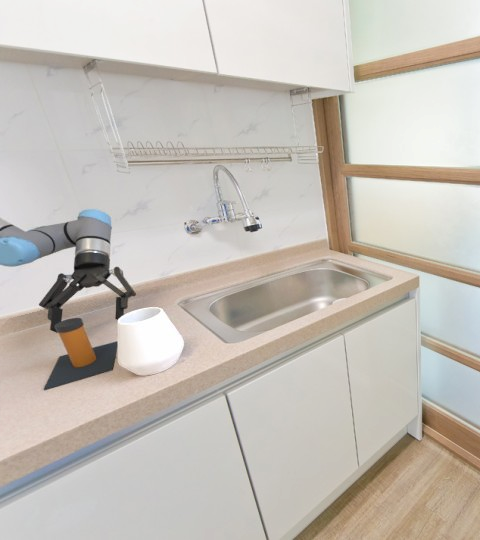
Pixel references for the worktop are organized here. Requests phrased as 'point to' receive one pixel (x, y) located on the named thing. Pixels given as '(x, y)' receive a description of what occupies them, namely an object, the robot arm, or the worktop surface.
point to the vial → (76, 342)
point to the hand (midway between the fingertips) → (88, 325)
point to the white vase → (148, 341)
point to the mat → (69, 373)
